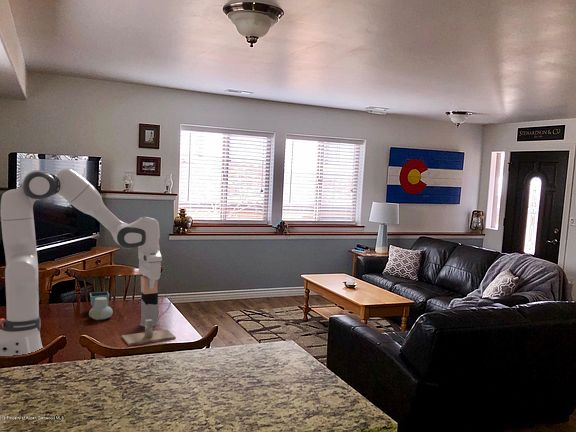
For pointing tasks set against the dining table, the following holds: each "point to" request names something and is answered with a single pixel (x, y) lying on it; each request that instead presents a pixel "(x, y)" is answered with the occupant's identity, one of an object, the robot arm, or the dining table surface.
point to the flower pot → (98, 294)
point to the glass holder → (150, 308)
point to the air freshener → (100, 309)
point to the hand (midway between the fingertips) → (148, 286)
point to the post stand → (148, 335)
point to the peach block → (148, 286)
